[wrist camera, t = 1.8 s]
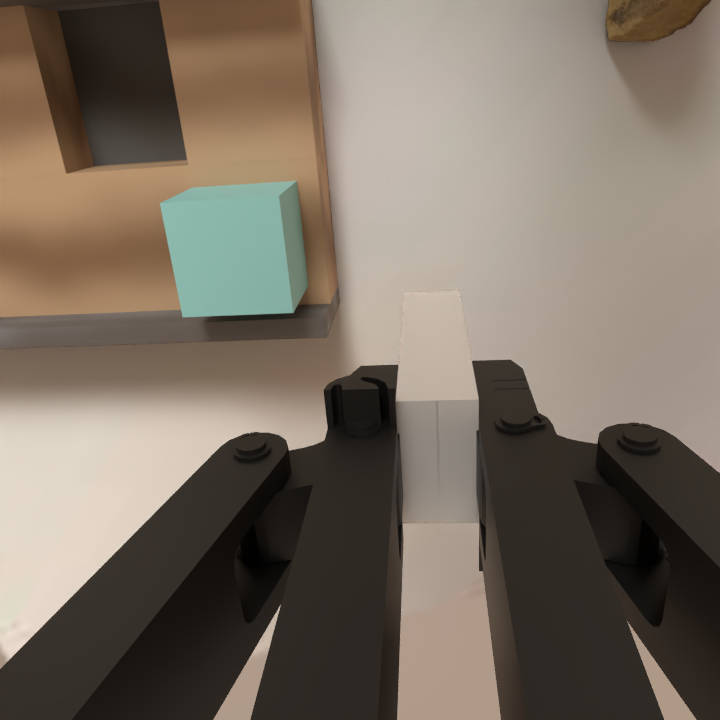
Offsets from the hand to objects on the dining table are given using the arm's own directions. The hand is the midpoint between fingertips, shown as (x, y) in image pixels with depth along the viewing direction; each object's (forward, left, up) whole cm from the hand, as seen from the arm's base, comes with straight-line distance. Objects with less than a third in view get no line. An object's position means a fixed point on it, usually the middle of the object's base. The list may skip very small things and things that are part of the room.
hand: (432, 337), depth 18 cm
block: (0, -8, -13) cm, 15 cm away
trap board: (-4, -18, -16) cm, 25 cm away
